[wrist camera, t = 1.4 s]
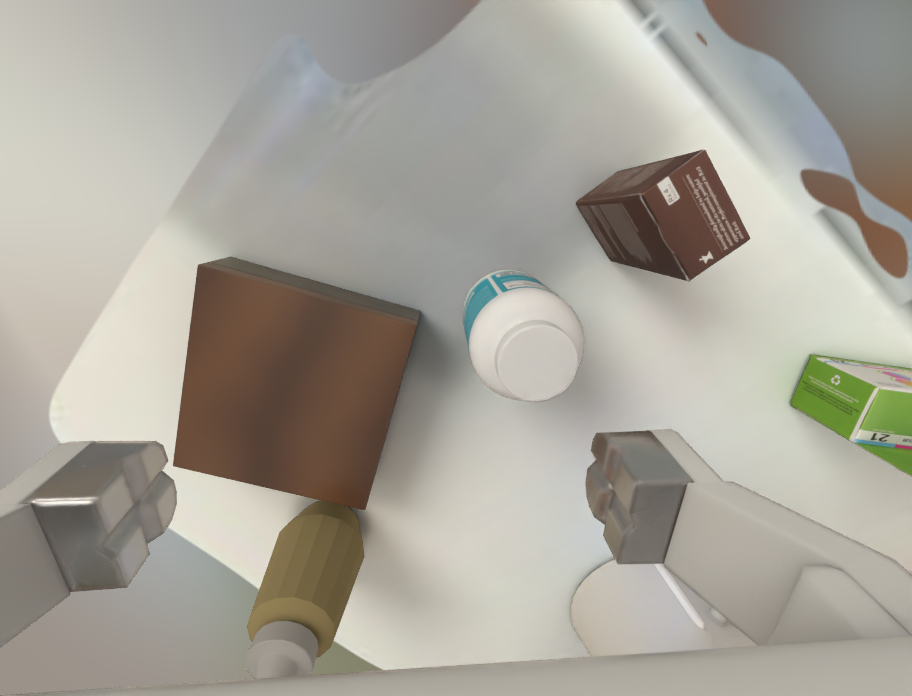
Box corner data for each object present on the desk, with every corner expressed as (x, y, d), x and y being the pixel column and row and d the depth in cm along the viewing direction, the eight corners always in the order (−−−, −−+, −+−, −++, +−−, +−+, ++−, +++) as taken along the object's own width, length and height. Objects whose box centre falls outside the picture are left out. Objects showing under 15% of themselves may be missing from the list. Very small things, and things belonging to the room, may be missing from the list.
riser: (420, 310, 38) (416, 325, 33) (373, 476, 43) (364, 510, 38) (229, 256, 36) (197, 264, 31) (204, 436, 41) (172, 466, 36)
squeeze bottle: (275, 535, 45) (169, 741, 28) (311, 475, 43) (221, 657, 26) (346, 568, 46) (288, 783, 29) (385, 512, 44) (347, 707, 27)
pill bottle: (488, 367, 40) (509, 445, 27) (446, 296, 38) (446, 343, 25) (563, 326, 39) (623, 386, 26) (524, 250, 37) (568, 276, 24)
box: (657, 229, 36) (755, 240, 25) (609, 262, 37) (683, 288, 26) (621, 164, 35) (708, 145, 23) (572, 200, 36) (632, 198, 24)
